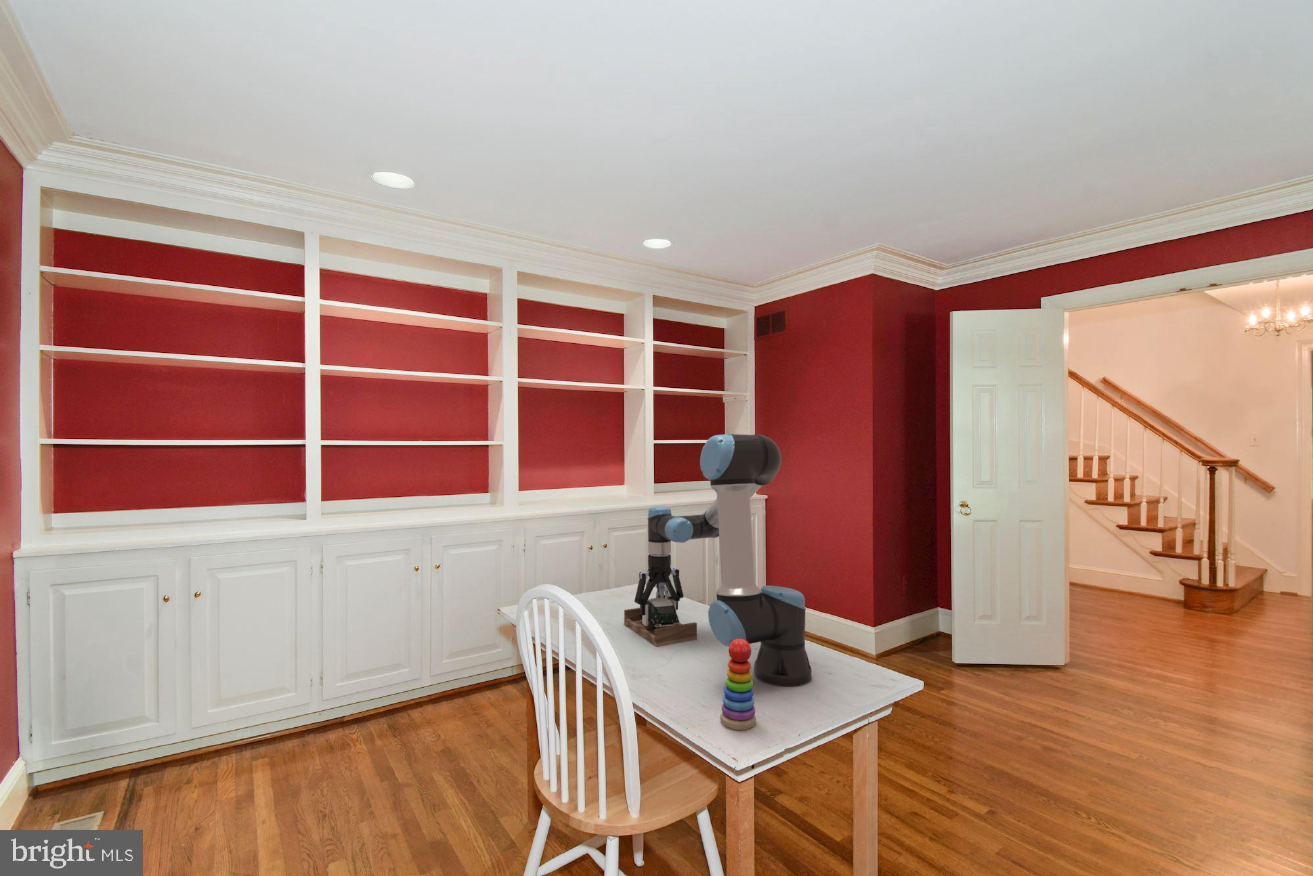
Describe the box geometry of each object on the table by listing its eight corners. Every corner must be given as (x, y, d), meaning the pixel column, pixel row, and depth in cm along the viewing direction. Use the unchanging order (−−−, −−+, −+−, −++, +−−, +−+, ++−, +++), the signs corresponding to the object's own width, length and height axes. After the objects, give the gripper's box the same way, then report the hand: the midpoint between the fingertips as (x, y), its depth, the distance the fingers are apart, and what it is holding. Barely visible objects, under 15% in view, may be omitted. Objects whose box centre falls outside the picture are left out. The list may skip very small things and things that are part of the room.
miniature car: (663, 613, 203) (663, 590, 203) (681, 630, 186) (681, 604, 186) (638, 616, 200) (638, 592, 200) (654, 633, 183) (654, 607, 183)
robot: (678, 619, 206) (679, 562, 206) (666, 621, 204) (666, 563, 204) (654, 604, 223) (654, 552, 223) (642, 606, 221) (642, 553, 221)
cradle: (696, 639, 186) (696, 623, 186) (656, 646, 179) (656, 630, 179) (661, 618, 207) (661, 604, 207) (624, 624, 200) (624, 609, 200)
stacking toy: (716, 727, 130) (716, 642, 130) (725, 711, 137) (725, 631, 137) (751, 734, 127) (752, 647, 127) (759, 717, 134) (759, 635, 134)
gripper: (683, 549, 201) (682, 614, 201) (623, 555, 191) (623, 624, 191) (694, 553, 195) (694, 620, 195) (633, 559, 184) (633, 630, 184)
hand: (659, 622), depth 193 cm, fingers closed on miniature car, 10 cm apart
